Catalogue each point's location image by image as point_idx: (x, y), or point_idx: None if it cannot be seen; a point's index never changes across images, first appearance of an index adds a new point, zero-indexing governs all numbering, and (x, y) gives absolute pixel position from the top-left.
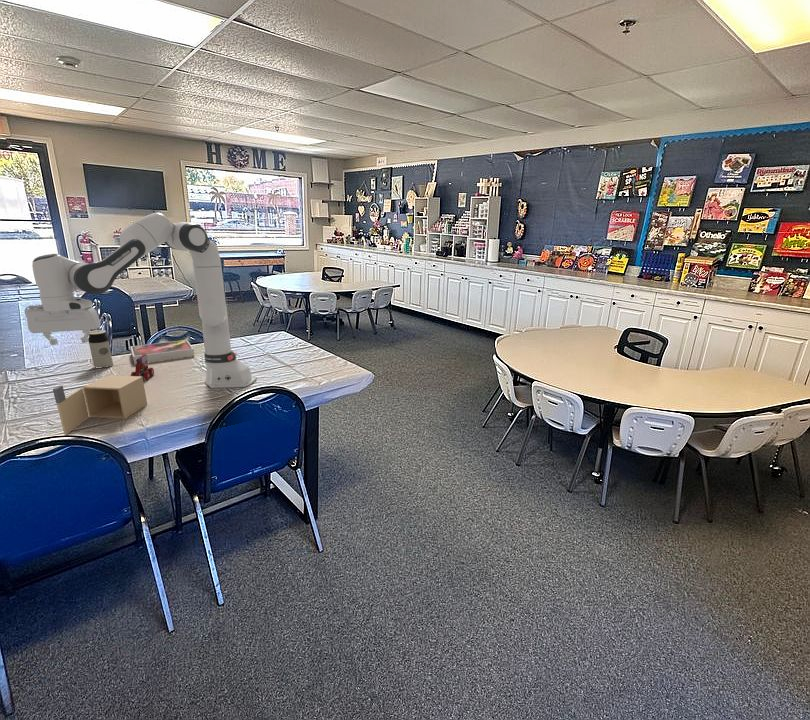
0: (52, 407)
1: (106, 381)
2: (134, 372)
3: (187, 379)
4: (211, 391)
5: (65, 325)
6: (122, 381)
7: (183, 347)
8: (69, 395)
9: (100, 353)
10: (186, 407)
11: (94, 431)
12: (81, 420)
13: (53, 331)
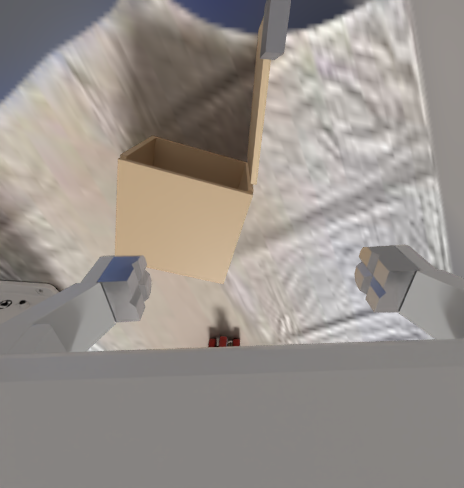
0: (353, 234)
1: (201, 234)
2: None
3: (132, 330)
4: (38, 267)
5: (220, 479)
6: (150, 226)
7: None
8: (263, 106)
9: None
10: (34, 183)
11: (191, 49)
12: (250, 122)
13: (442, 341)
